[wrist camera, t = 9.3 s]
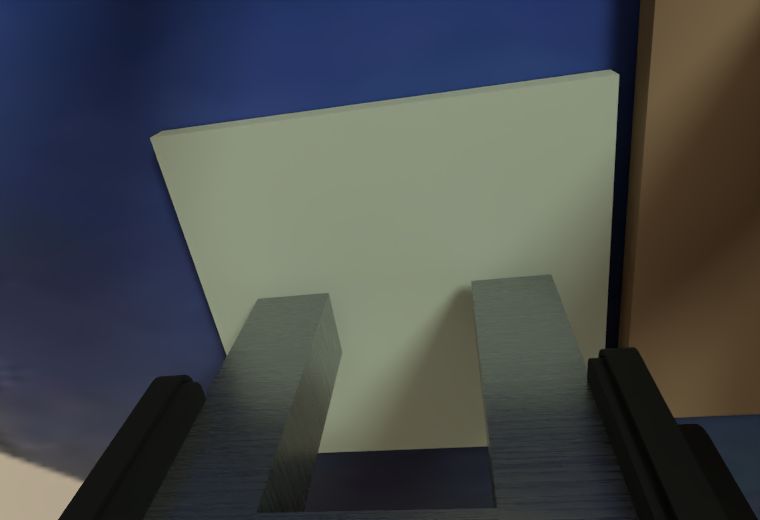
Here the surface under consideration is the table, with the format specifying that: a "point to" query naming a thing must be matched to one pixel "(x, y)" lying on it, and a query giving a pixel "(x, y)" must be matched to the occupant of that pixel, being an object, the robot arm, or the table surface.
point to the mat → (405, 234)
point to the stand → (696, 206)
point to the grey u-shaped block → (313, 395)
